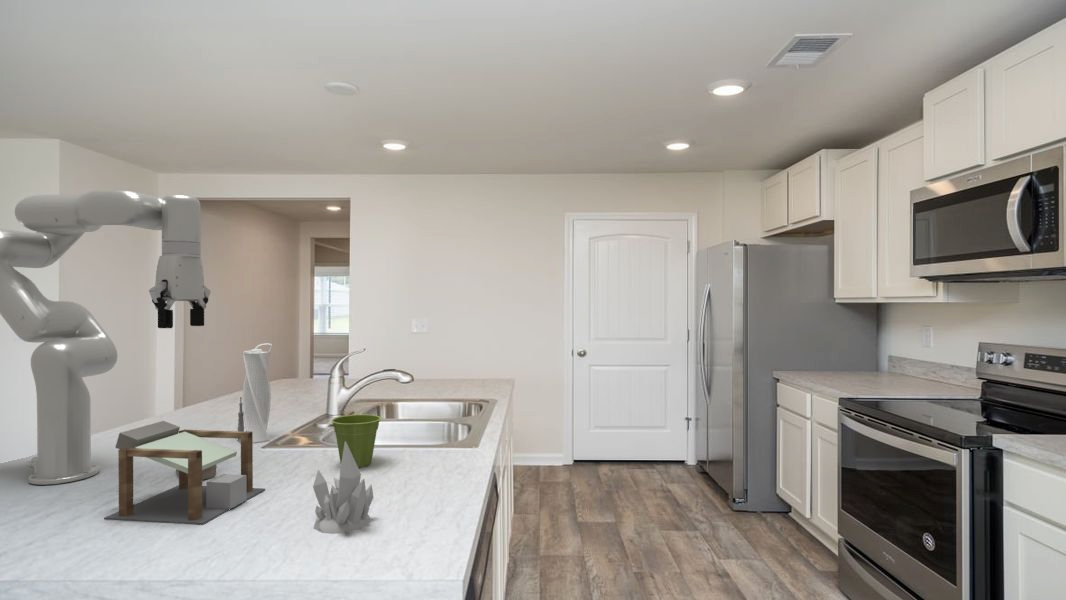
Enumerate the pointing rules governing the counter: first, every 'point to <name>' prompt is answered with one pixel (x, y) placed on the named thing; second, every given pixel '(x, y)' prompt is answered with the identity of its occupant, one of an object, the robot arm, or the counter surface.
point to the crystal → (343, 499)
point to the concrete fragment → (207, 472)
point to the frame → (186, 481)
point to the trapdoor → (173, 444)
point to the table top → (173, 508)
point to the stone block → (226, 491)
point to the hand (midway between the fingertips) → (181, 327)
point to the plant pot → (357, 436)
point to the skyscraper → (255, 395)
